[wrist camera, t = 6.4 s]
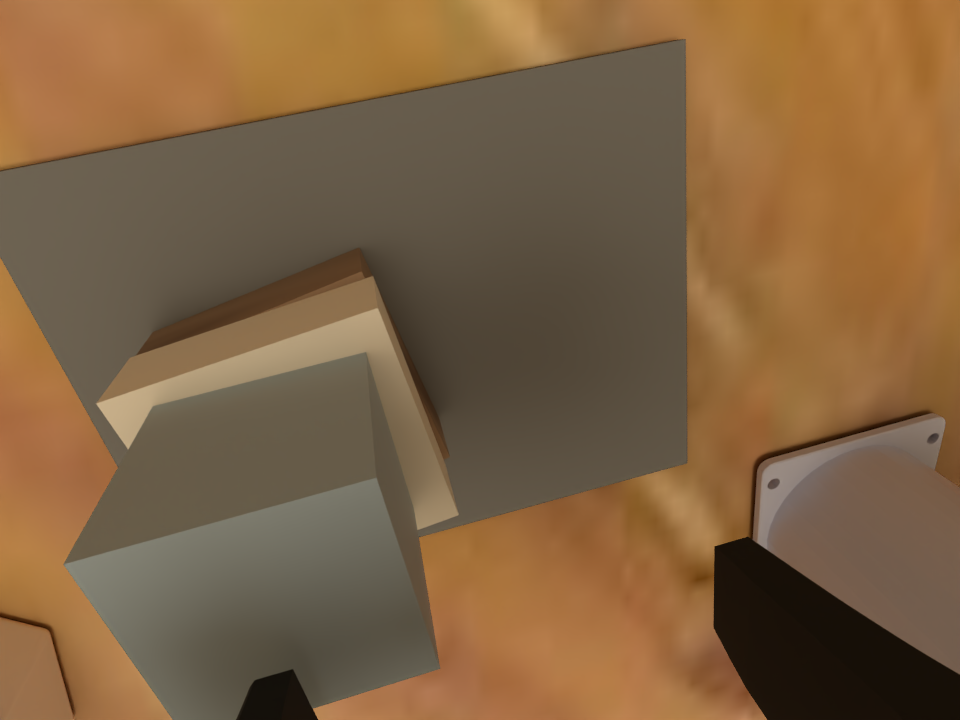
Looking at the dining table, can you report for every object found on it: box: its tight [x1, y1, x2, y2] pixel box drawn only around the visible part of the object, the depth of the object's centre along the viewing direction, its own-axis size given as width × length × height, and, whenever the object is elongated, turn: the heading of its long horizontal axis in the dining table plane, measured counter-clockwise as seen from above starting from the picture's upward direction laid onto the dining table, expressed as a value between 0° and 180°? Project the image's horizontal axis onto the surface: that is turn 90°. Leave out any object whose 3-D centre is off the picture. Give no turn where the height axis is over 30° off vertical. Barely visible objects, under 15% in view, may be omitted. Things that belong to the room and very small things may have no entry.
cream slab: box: [96, 276, 459, 530], centre depth 15 cm, size 6×6×2 cm
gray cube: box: [64, 352, 440, 720], centre depth 12 cm, size 4×4×4 cm
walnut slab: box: [136, 248, 450, 459], centre depth 17 cm, size 6×6×2 cm
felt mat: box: [0, 39, 687, 537], centre depth 18 cm, size 14×18×1 cm
